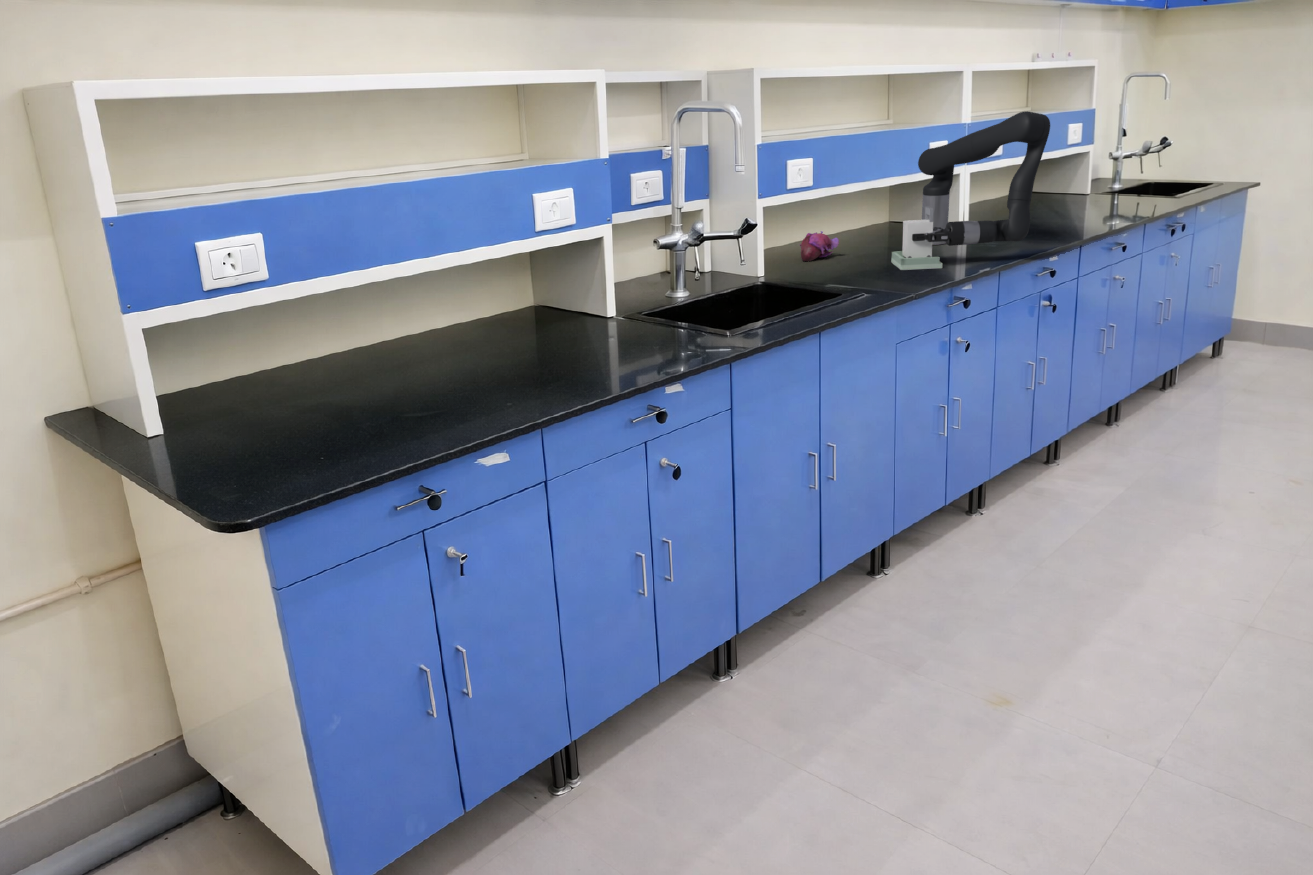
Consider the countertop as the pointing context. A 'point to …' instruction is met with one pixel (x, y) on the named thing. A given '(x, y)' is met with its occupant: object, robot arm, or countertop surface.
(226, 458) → the countertop surface
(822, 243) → the anatomical model
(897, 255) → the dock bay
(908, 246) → the grey box with feet
